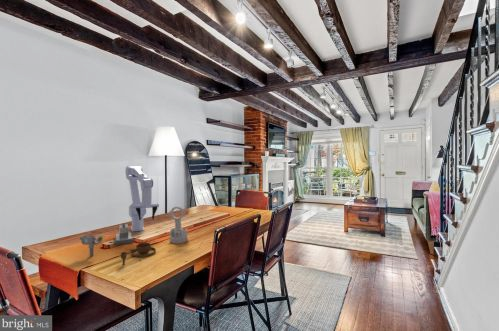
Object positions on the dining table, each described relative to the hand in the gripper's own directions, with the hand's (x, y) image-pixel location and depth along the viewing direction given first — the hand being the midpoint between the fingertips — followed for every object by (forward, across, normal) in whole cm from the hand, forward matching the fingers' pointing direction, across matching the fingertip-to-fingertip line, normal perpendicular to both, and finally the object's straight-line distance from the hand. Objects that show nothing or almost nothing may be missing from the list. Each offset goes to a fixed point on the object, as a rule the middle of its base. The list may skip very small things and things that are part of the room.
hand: (146, 219), depth 160 cm
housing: (+8, -13, -4) cm, 16 cm away
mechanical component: (+11, -28, -24) cm, 38 cm away
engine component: (+11, +16, -17) cm, 26 cm away
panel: (+10, -13, -4) cm, 17 cm away
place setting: (+11, -8, -32) cm, 35 cm away
